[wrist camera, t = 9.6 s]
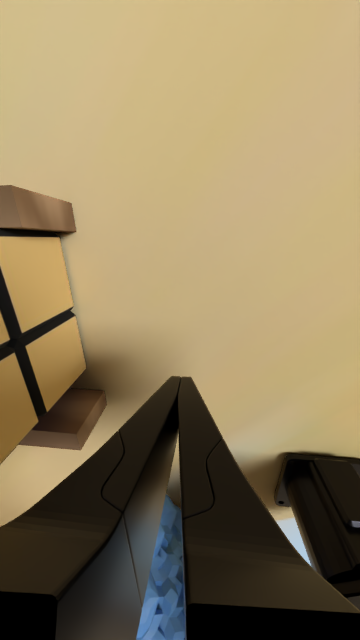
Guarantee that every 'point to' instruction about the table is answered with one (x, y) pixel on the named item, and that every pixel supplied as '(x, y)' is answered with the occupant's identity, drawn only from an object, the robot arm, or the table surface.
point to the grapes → (165, 582)
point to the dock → (75, 404)
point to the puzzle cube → (34, 332)
